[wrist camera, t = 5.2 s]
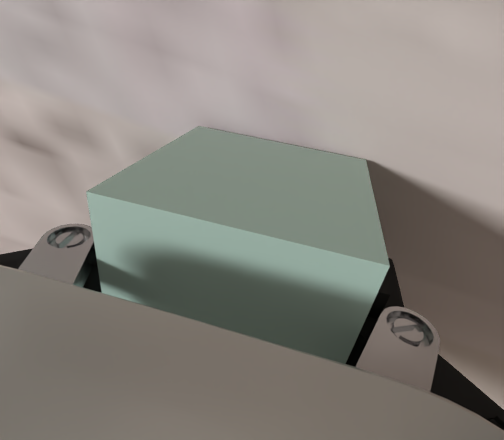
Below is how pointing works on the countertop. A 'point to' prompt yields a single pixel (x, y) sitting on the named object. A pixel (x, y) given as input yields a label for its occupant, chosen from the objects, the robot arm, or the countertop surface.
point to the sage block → (245, 238)
